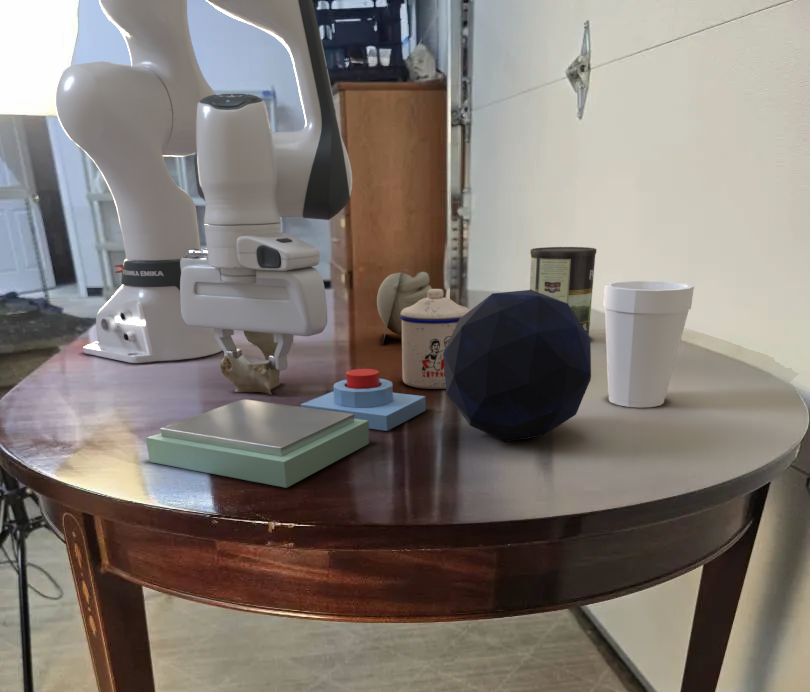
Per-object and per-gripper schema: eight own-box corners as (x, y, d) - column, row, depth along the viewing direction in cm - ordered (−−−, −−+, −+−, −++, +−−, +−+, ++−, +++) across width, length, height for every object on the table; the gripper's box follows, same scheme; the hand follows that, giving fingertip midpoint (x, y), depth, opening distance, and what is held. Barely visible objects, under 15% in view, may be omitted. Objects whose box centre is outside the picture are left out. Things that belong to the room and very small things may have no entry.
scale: (149, 462, 73) (144, 429, 72) (243, 424, 84) (240, 395, 83) (286, 488, 66) (283, 452, 65) (369, 443, 77) (368, 412, 76)
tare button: (341, 389, 85) (340, 373, 85) (357, 382, 88) (357, 367, 87) (369, 392, 84) (368, 376, 83) (385, 385, 87) (384, 370, 86)
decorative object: (425, 345, 136) (426, 357, 126) (368, 329, 135) (365, 340, 125) (446, 272, 130) (449, 278, 121) (387, 254, 129) (385, 260, 120)
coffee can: (582, 333, 133) (589, 245, 127) (594, 344, 123) (603, 250, 118) (522, 334, 133) (526, 246, 127) (530, 345, 124) (535, 251, 118)
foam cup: (679, 394, 94) (694, 281, 88) (677, 413, 86) (693, 291, 80) (599, 389, 96) (609, 280, 91) (590, 407, 89) (600, 289, 83)
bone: (236, 390, 92) (218, 311, 93) (222, 408, 98) (205, 333, 98) (302, 386, 96) (284, 310, 97) (285, 403, 102) (268, 331, 103)
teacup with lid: (423, 393, 96) (422, 296, 91) (388, 379, 103) (386, 288, 98) (502, 381, 101) (505, 288, 96) (463, 369, 108) (465, 282, 103)
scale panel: (301, 419, 86) (299, 388, 85) (344, 400, 93) (343, 371, 92) (387, 431, 81) (386, 398, 80) (425, 410, 88) (425, 380, 87)
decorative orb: (490, 357, 89) (456, 253, 77) (620, 370, 82) (604, 257, 70) (444, 457, 83) (399, 362, 71) (578, 479, 76) (553, 378, 64)
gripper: (161, 249, 93) (176, 364, 99) (299, 254, 84) (308, 379, 90) (196, 246, 98) (210, 355, 104) (331, 250, 89) (337, 369, 95)
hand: (256, 366), depth 97 cm, fingers closed on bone, 6 cm apart
